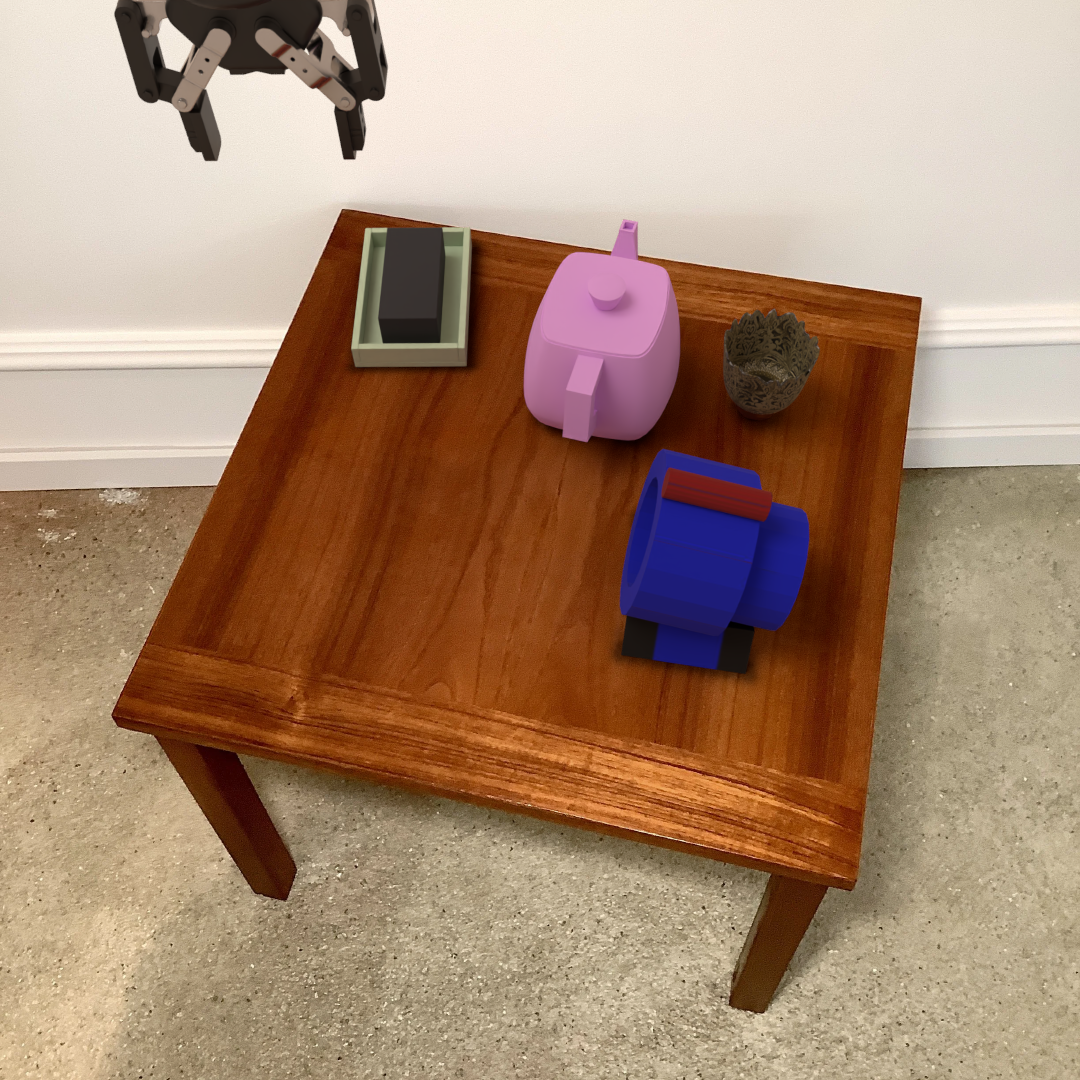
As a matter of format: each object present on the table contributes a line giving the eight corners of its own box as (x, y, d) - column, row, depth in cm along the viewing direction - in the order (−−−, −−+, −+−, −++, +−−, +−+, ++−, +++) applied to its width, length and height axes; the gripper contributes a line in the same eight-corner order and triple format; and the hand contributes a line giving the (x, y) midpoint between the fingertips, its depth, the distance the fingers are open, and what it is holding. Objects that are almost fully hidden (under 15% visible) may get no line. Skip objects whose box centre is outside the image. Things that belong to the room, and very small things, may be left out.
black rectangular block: (391, 256, 101) (386, 227, 98) (445, 255, 101) (442, 227, 98) (383, 346, 95) (377, 318, 92) (440, 345, 95) (436, 318, 92)
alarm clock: (631, 516, 87) (645, 395, 74) (787, 537, 85) (829, 419, 73) (610, 653, 80) (621, 548, 68) (778, 678, 79) (822, 576, 66)
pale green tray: (355, 367, 95) (350, 348, 93) (369, 247, 103) (365, 227, 101) (466, 366, 95) (464, 347, 93) (471, 246, 103) (470, 226, 101)
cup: (816, 426, 91) (837, 362, 84) (737, 453, 90) (752, 390, 83) (773, 362, 95) (790, 297, 88) (697, 387, 93) (708, 322, 87)
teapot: (650, 498, 88) (664, 397, 77) (500, 468, 89) (493, 365, 78) (693, 317, 98) (710, 206, 87) (558, 293, 99) (558, 181, 88)
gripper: (364, -161, 56) (400, 112, 70) (86, -158, 56) (178, 114, 70) (350, -79, 52) (392, 192, 66) (51, -77, 52) (156, 194, 66)
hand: (282, 152), depth 68 cm, fingers open, 8 cm apart
